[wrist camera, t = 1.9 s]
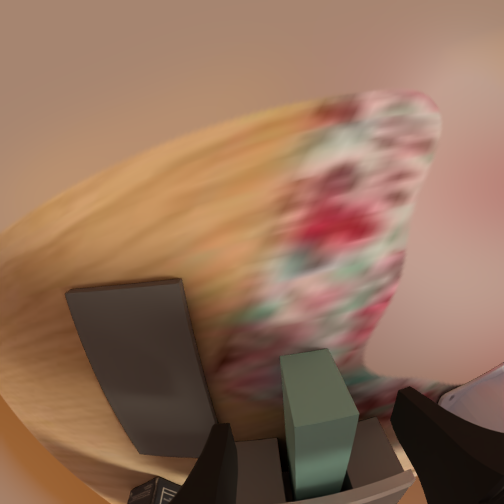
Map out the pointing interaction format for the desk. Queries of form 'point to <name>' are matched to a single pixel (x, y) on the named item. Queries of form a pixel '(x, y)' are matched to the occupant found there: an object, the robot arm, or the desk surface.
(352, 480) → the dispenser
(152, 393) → the mat
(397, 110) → the desk surface
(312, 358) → the green block
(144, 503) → the small box
